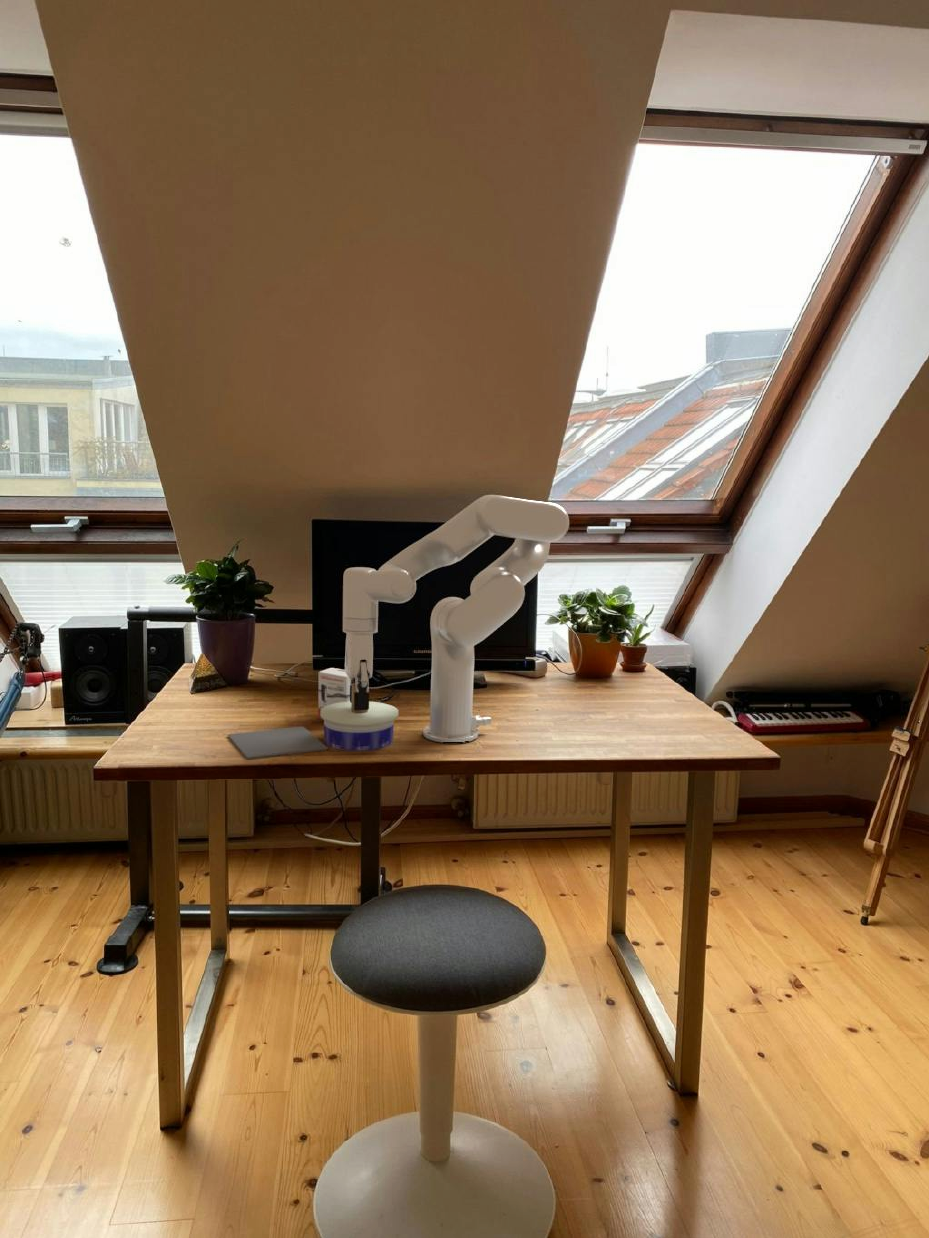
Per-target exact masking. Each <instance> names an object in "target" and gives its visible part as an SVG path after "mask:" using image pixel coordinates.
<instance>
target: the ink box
mask: <svg viewBox="0 0 929 1238" xmlns="http://www.w3.org/2000/svg"><path fill="white" fill-rule="evenodd" d="M317 674H318V675H317V677H318V680H317V681H318V683H317V684H318V692H317V694H318V719H319V720H323V719H322V718H321V716H320V711H321V709H322V708H323V707H325V706H327V705H330V704H334V703H339V702H348V701H350V685H352V684H351V679H350V678H349V677H348V675H347V674H346V672H345V669H341V668H335V667H330V668H326V669H324V670H320V671H318V673H317Z"/></svg>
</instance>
